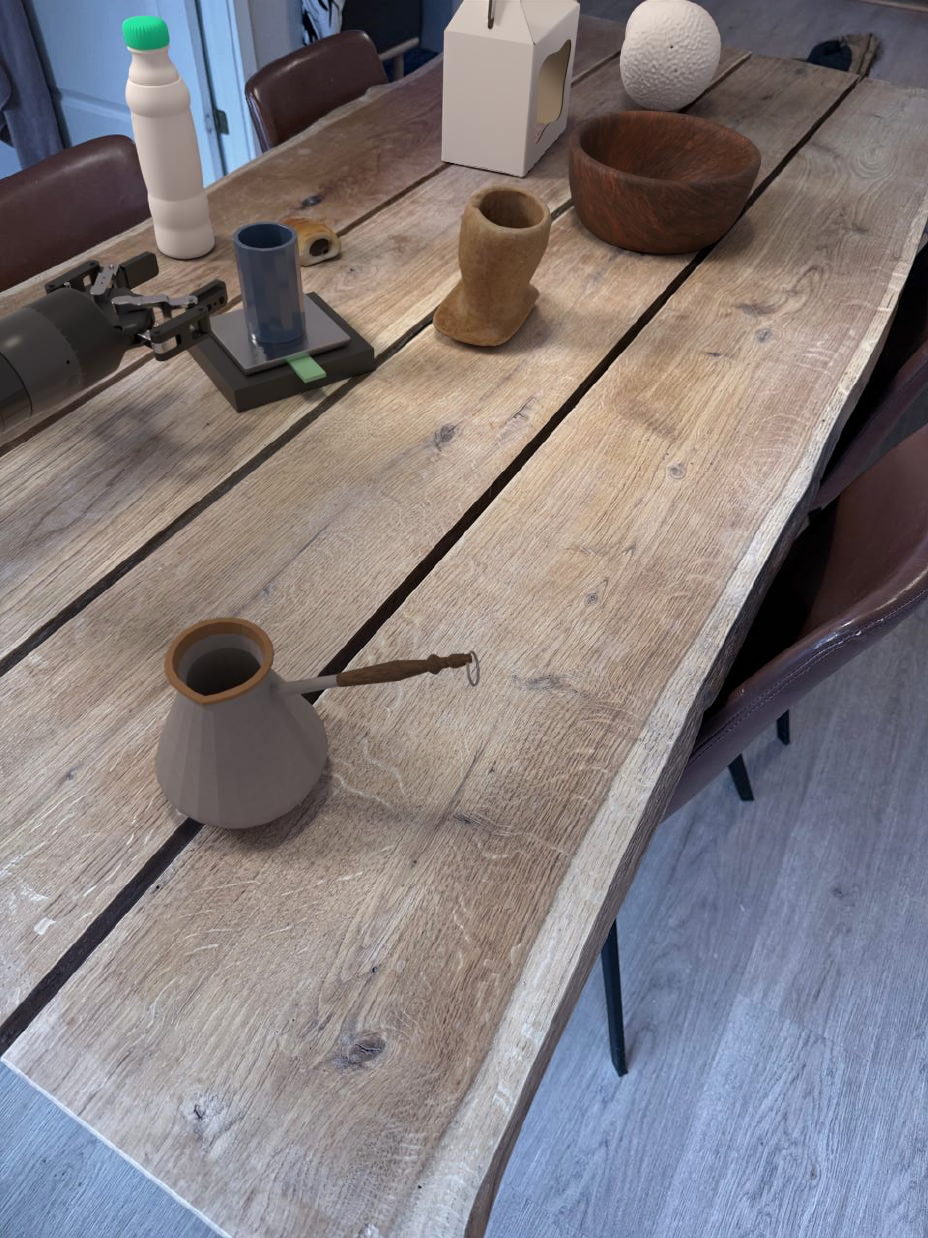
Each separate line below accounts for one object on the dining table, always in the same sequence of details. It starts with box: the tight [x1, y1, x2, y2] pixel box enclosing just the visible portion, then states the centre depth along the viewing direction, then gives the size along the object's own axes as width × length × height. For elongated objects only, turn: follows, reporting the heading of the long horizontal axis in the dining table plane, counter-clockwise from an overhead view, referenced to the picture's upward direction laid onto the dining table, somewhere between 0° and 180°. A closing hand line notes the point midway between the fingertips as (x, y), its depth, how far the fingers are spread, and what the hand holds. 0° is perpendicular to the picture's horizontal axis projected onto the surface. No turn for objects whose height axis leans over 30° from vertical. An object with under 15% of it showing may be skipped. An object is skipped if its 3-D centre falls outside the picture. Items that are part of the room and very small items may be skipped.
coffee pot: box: [154, 616, 481, 830], centre depth 58 cm, size 21×12×15 cm, turn 85°
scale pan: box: [209, 291, 351, 375], centre depth 96 cm, size 12×11×1 cm
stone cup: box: [432, 183, 553, 347], centre depth 100 cm, size 15×12×15 cm
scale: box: [186, 291, 376, 413], centre depth 97 cm, size 16×16×3 cm
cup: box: [232, 221, 306, 344], centre depth 92 cm, size 6×6×10 cm
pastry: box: [281, 217, 342, 267], centre depth 115 cm, size 9×7×4 cm
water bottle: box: [121, 15, 215, 260], centre depth 106 cm, size 7×7×25 cm
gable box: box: [440, 0, 581, 178], centre depth 132 cm, size 22×13×28 cm, turn 159°
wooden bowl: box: [567, 110, 762, 255], centre depth 122 cm, size 25×25×10 cm
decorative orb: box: [619, 0, 722, 112], centre depth 150 cm, size 20×18×16 cm
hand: (188, 275), depth 82 cm, fingers open, 8 cm apart
